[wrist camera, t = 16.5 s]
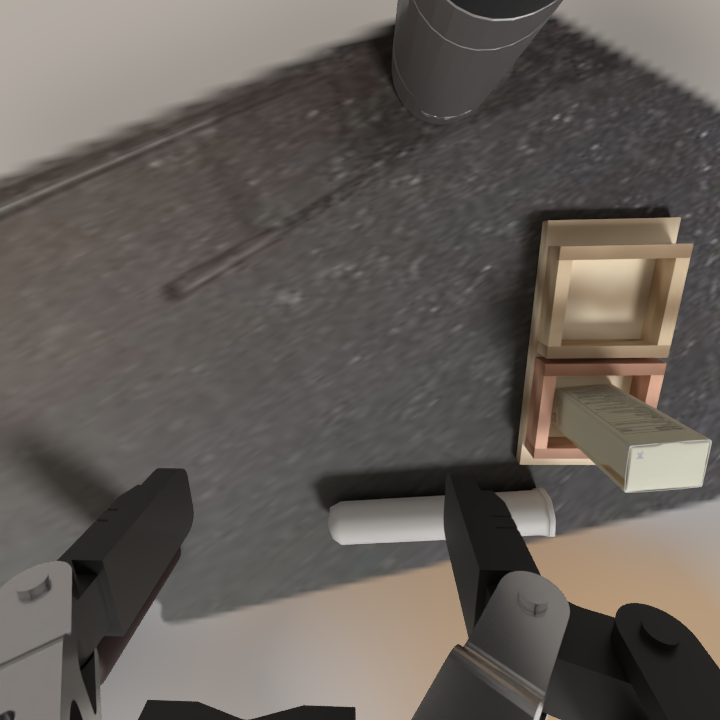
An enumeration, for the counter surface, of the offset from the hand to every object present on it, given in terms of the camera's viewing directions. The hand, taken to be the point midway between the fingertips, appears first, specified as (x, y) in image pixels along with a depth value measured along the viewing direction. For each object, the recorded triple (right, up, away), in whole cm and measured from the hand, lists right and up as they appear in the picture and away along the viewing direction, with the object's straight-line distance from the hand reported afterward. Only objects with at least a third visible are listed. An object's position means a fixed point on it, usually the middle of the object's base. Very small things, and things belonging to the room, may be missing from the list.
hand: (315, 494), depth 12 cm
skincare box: (+25, 0, +29) cm, 39 cm away
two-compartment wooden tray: (+25, +5, +29) cm, 39 cm away
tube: (+10, -12, +34) cm, 37 cm away
